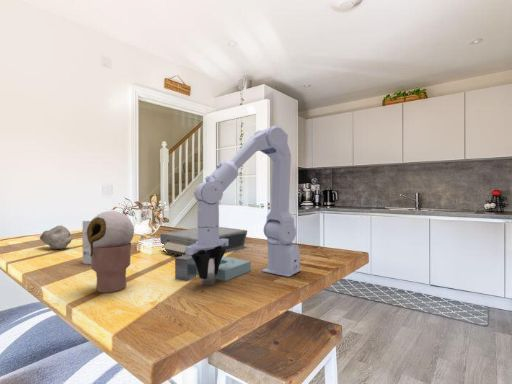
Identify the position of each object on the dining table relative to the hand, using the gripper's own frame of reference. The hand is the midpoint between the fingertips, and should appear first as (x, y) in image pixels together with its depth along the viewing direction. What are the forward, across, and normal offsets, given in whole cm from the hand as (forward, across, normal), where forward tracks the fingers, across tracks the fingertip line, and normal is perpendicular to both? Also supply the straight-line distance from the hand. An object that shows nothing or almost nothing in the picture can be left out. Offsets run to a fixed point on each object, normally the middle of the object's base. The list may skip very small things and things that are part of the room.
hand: (208, 276), depth 79 cm
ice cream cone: (+2, +17, -18) cm, 25 cm away
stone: (+2, +4, -85) cm, 85 cm away
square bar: (+2, 0, -9) cm, 9 cm away
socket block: (+2, -10, -5) cm, 11 cm away
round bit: (+2, 0, 0) cm, 2 cm away
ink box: (+2, +6, -47) cm, 47 cm away
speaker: (+2, -30, -32) cm, 44 cm away
